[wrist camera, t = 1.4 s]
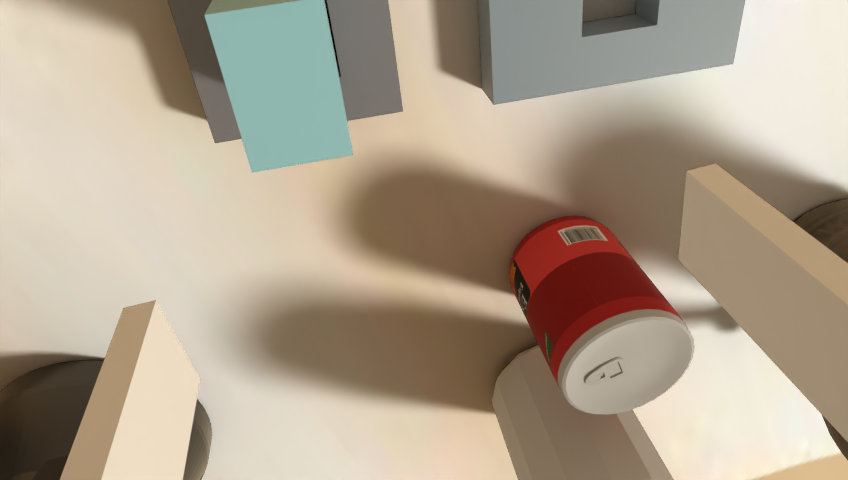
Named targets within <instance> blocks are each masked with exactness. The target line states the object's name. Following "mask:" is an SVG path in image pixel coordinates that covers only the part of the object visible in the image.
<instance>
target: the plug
mask: <svg viewBox="0 0 848 480" xmlns="http://www.w3.org/2000/svg"><path fill="white" fill-rule="evenodd" d="M204 16H205V19H206V22H207V25H208V29H209V32H210V35H211V39H212V42H213V45H214V48H215V52H216V55H217V58H218V62H219V65H220V68H221V72H222V75H223V78H224V81H225V85H226V88H227V91H228V95H229V98H230V101H231V104H232V108H233V111H234V114H235V118H236V121H237V124H238V128H239V131H240V134H241V137H242V141H243V144H244V147H245V151H246V154H247V157H248V160H249V164H250V167H251V170H252V173H253V172H259V171H264V170H270V169H276V168H281V167H287V166H293V165H299V164H304V163H310V162H316V161H321V160H327V159H333V158H339V157H344V156H350V155H353V152H352V146H351V140H350V134H349V129H348V123H347V117H346V112H345V106H344V100H343V95H342V89H341V84H340V78H339V73H338V68H337V63H336V58H335V52H334V47H333V42H332V37H331V31H330V26H329V21H328V16H327V11H326V5H325V0H212V2H211V4H210V5H209V7H208V9H207V11H206V13H205V15H204Z"/></svg>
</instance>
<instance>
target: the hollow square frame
mask: <svg viewBox="0 0 848 480" xmlns="http://www.w3.org/2000/svg"><path fill="white" fill-rule="evenodd" d="M211 2H212V0H168V3H169V6H170V9H171V12H172V15H173V18H174V21H175V24H176V27H177V30H178V33H179V36H180V39H181V42H182V45H183V48H184V51H185V54H186V57H187V60H188V63H189V66H190V69H191V72H192V75H193V78H194V81H195V85H196V88H197V91H198V94H199V97H200V100H201V103H202V106H203V109H204V112H205V115H206V118H207V121H208V124H209V127H210V130H211V133H212V136H213V139H214V142H215V143H219V142H225V141H231V140H237V139H242V137H241V134H240V131H239V128H238V124H237V121H236V118H235V114H234V111H233V108H232V104H231V101H230V98H229V95H228V91H227V88H226V85H225V81H224V78H223V75H222V72H221V68H220V65H219V62H218V58H217V55H216V52H215V48H214V45H213V42H212V39H211V35H210V32H209V29H208V25H207V22H206V19H205V16H204V15H205V13H206V11H207V9H208V7H209V5H210V4H211ZM327 5H328V10H329V15H330V20H331V26H332V31H333V36H334V42H335V47H336V52H337V57H338V62H336V63H337V68H338V73H339V78H340V84H341V89H342V95H343V100H344V106H345V112H346V117H347V121H349V120H355V119H361V118H367V117H373V116H379V115H384V114H390V113H396V112H402V111H403V108H402V101H401V93H400V86H399V78H398V71H397V63H396V56H395V49H394V41H393V34H392V26H391V19H390V11H389V4H388V0H327Z"/></svg>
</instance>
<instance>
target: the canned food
mask: <svg viewBox="0 0 848 480" xmlns="http://www.w3.org/2000/svg"><path fill="white" fill-rule="evenodd" d="M510 283H511V286H512V289H513V291H514V294H515V296H516V298H517V300H518V302H519V304H520V306H521V309H522V311H523V313H524V315H525V317H526V319H527V321H528V323H529V326H530V328H531V330H532V332H533V334H534V336H535V338H536V340H537V343H538V345H539V347H540V349H541V351H542V353H543V355H544V358H545V360H546V362H547V364H548V366H549V368H550V370H551V372H552V375H553V377H554V378H555V380H556V382H557V384H558V386H559V388H560V390H561V392H562V393H563V395H564V396H565V398H566V399H567V401H568V402H569V403H570V404H571V405H572V406H574V407H575V408H576V409H578V410H581V411H583V412H586V413H592V414H614V413H620V412H624V411H628V410H632V409H634V408H637V407H640V406H642V405H644V404H646V403H648V402H650V401H652V400H654V399H656V398H657V397H659V396H660V395H662V394H663V393H665V392H666V391H667V390H668V389H670V388H671V387H672V386H673V385H674V384H675V383H676V382H677V381H678V380H679V379H680V378H681V377H682V376H683V374H684V373H685V371H686V370H687V368H688V367H689V364H690V362H691V360H692V357H693V352H694V340H693V337H692V335H691V333H690V331H689V330H688V328H687V326H686V324H685V323H684V322H683V320H682V319H681V318H680V317H679V315H678V314H677V312H676V311H675V310H674V308H673V307H672V306H671V305H670V304H669V302H668V301H667V300H666V299H665V297H664V296H663V295H662V294H661V292H660V291H659V290H658V289H657V288H656V286H655V285H654V284H653V283H652V281H651V280H650V279H649V278H648V276H647V275H646V274H645V273H644V272H643V270H642V269H641V268H640V267H639V265H638V264H637V263H636V262H635V260H634V259H633V258H632V257H631V256H630V254H629V253H628V252H627V251H626V249H625V248H624V247H623V246H622V245H621V243H620V242H619V241H618V240H617V238H616V237H615V236H614V235H613V234H612V232H611V231H610V230H609V229H608V228H607V227H605V226H603V225H602V224H600V223H598V222H596V221H594V220H591V219H588V218H586V217H578V216H571V217H563V218H558V219H554V220H552V221H549V222H547V223H545V224H543V225H541V226H539V227H538V228H536V229H535V230H533V231H532V232H531V233H530V234H528V235H527V236H526V237H525V238H524V239H523V240H522V241H521V243H520V244H519V246H518V247H517V249H516V250H515V252H514V254H513V257H512V259H511V265H510Z"/></svg>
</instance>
